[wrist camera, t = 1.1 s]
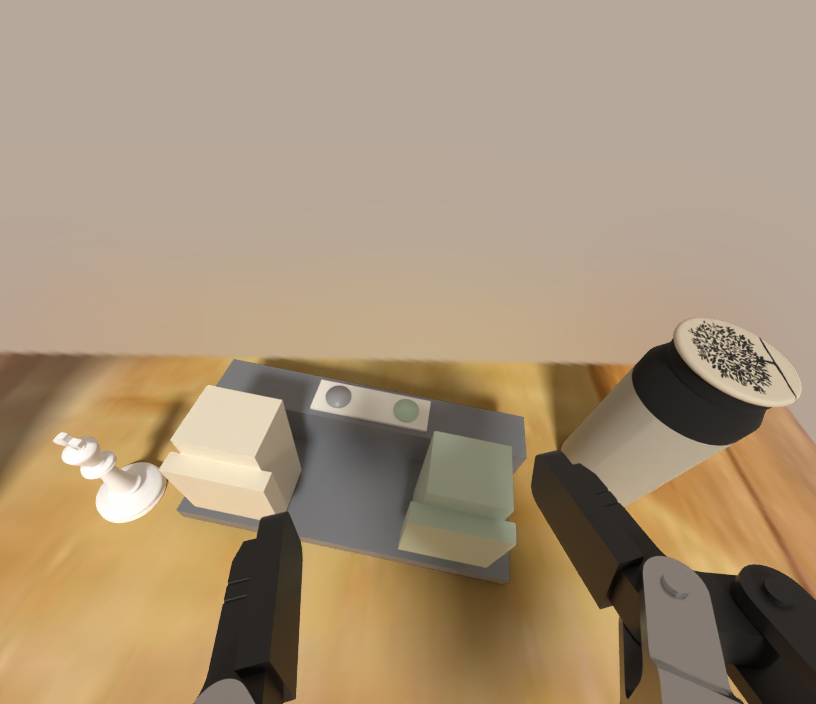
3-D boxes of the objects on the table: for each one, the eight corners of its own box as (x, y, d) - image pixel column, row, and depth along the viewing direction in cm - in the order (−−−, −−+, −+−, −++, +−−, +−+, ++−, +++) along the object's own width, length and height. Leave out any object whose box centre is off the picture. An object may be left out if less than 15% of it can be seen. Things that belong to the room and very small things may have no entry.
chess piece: (125, 459, 32) (55, 397, 24) (178, 470, 32) (124, 411, 24) (84, 516, 29) (-12, 464, 21) (142, 528, 29) (67, 480, 21)
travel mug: (554, 488, 35) (680, 376, 21) (562, 423, 40) (667, 300, 26) (638, 523, 33) (830, 428, 20) (635, 451, 38) (785, 337, 25)
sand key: (206, 518, 28) (144, 456, 20) (238, 456, 31) (197, 382, 23) (286, 534, 28) (257, 480, 19) (309, 471, 31) (293, 402, 23)
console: (183, 516, 29) (146, 484, 24) (249, 398, 37) (232, 355, 32) (503, 584, 29) (536, 566, 24) (501, 449, 37) (525, 414, 32)
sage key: (394, 557, 27) (410, 512, 19) (405, 491, 31) (423, 428, 23) (476, 575, 27) (527, 536, 19) (478, 506, 31) (522, 448, 22)
